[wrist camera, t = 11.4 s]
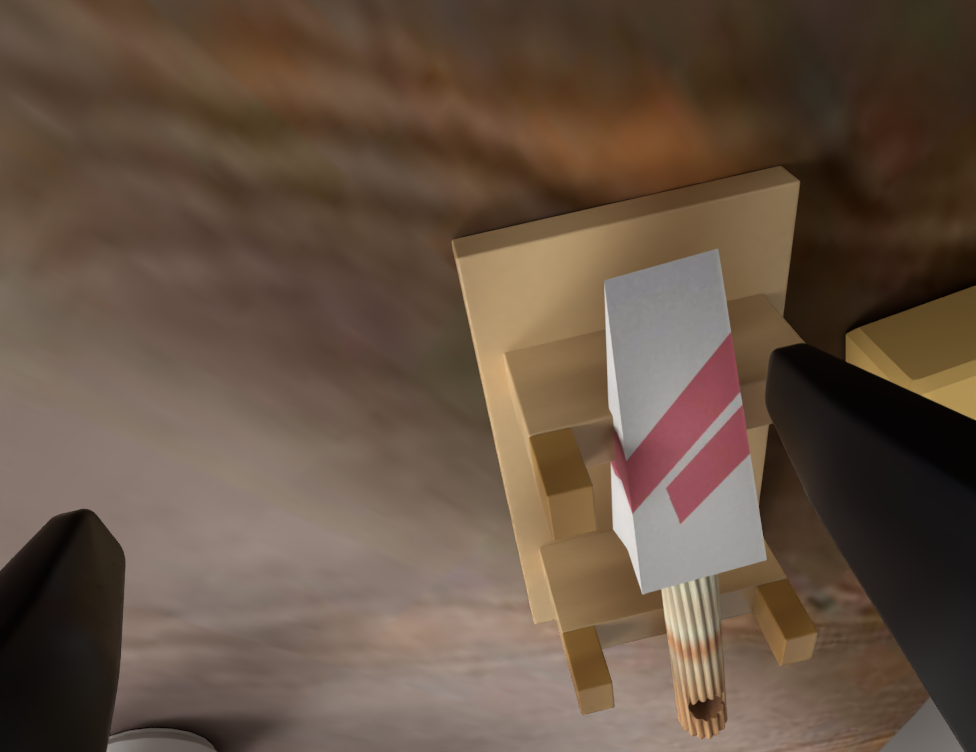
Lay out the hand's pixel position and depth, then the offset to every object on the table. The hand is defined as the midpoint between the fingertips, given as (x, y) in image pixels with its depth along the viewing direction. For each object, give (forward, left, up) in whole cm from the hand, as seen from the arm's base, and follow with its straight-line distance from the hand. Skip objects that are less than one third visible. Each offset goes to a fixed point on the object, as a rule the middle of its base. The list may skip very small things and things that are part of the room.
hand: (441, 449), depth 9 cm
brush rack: (-6, +13, -12) cm, 19 cm away
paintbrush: (-6, +13, -8) cm, 16 cm away
